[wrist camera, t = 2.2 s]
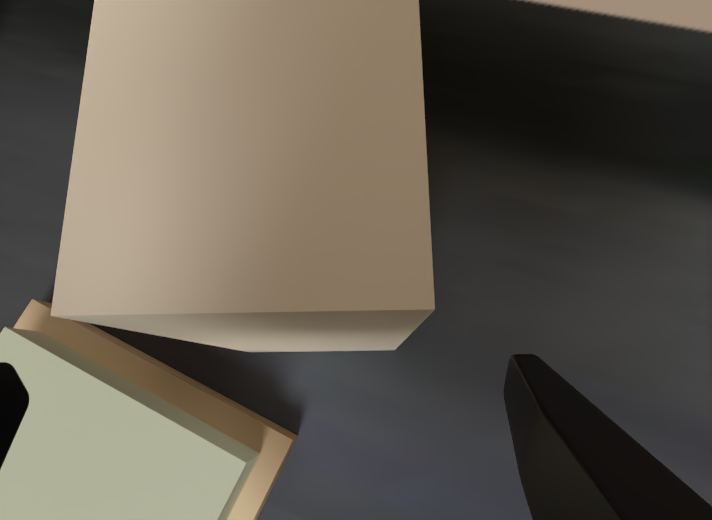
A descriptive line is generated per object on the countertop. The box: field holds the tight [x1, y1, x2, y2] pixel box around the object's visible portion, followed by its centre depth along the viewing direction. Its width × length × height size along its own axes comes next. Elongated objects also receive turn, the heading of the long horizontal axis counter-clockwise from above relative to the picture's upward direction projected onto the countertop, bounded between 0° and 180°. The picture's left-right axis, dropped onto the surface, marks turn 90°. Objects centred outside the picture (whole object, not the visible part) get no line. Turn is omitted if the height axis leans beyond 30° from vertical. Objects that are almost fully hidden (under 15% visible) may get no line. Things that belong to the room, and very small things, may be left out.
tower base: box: [14, 299, 298, 520], centre depth 18 cm, size 12×12×2 cm
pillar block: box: [50, 0, 435, 352], centre depth 14 cm, size 6×6×12 cm
